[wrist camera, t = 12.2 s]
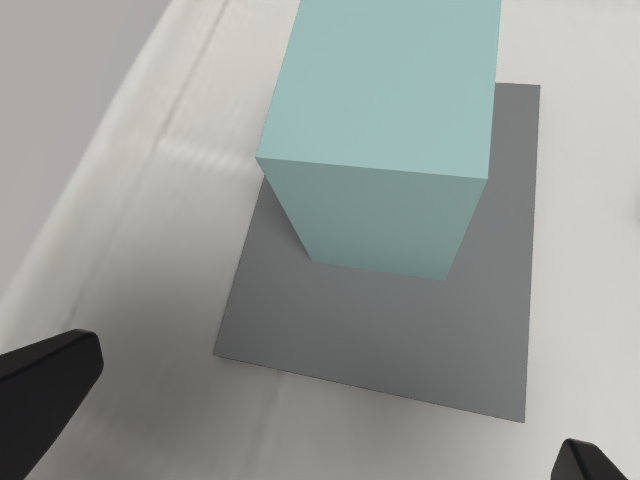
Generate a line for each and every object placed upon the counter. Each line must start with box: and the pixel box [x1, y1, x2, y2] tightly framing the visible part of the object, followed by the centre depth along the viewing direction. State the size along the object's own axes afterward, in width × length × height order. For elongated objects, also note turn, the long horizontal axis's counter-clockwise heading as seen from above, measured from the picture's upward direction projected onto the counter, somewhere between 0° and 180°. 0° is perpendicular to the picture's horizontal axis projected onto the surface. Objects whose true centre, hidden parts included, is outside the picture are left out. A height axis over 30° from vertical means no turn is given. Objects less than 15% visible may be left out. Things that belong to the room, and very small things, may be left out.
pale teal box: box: [255, 0, 501, 281], centre depth 16 cm, size 6×6×9 cm
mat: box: [213, 83, 540, 423], centre depth 20 cm, size 16×13×1 cm
